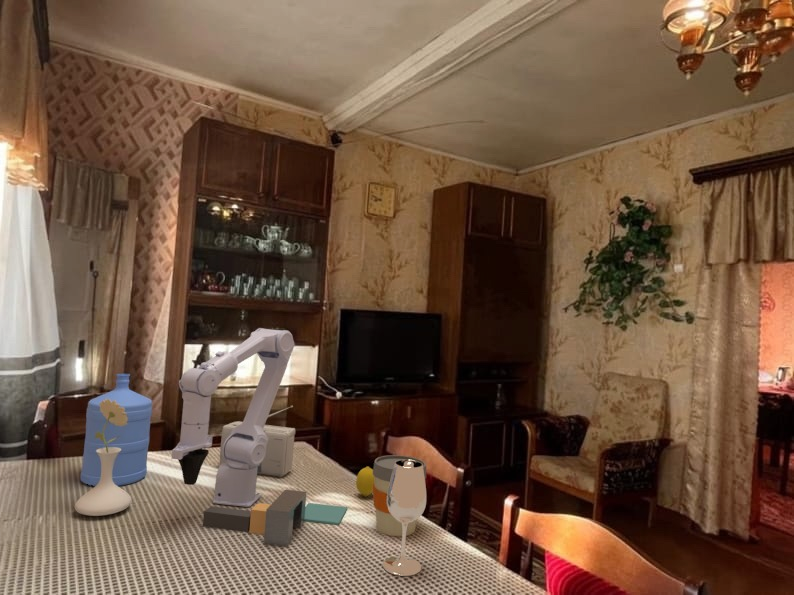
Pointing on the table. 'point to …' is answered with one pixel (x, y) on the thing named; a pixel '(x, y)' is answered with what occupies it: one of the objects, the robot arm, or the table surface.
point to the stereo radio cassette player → (270, 448)
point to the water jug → (130, 438)
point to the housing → (284, 517)
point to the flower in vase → (106, 472)
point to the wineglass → (405, 509)
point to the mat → (324, 513)
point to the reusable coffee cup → (380, 489)
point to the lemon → (365, 481)
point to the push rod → (227, 519)
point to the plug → (258, 518)
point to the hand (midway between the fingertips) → (190, 483)
